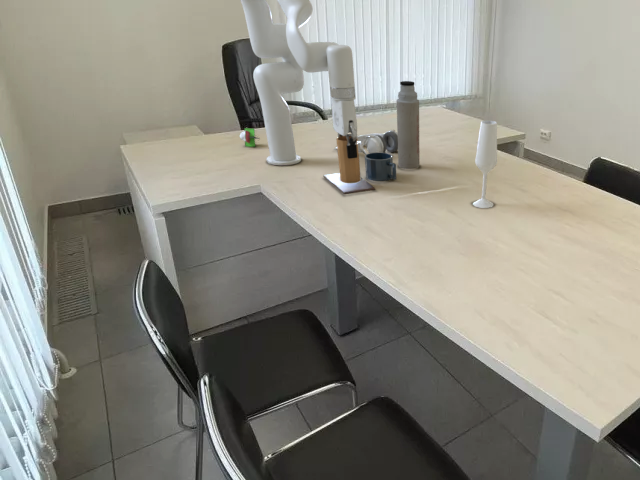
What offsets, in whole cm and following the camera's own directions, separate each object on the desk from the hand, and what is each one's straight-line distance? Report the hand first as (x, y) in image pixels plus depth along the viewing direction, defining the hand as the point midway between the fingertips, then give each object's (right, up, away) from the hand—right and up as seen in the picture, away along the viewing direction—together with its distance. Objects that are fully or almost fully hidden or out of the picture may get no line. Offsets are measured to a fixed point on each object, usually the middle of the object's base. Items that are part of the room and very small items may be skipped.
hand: (348, 154), depth 174 cm
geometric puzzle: (-48, +23, +42) cm, 67 cm away
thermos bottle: (+18, +7, +26) cm, 32 cm away
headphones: (+2, +20, +41) cm, 46 cm away
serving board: (-1, -7, +8) cm, 10 cm away
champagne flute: (+44, -18, -3) cm, 48 cm away
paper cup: (0, -6, +5) cm, 8 cm away
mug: (+10, -3, +13) cm, 17 cm away
